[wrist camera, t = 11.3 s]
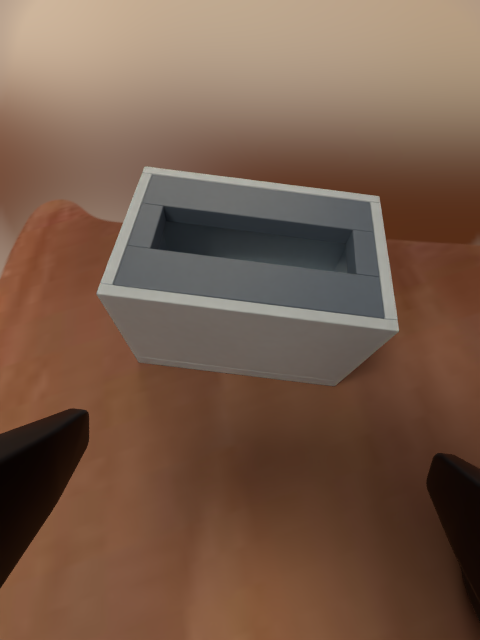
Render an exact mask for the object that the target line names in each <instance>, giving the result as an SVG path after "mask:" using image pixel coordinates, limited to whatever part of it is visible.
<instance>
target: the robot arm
mask: <svg viewBox="0 0 480 640" xmlns="http://www.w3.org/2000/svg"><path fill="white" fill-rule="evenodd" d="M88 442H89V414H88V412H87V411H86V410H82V409H74V408H73V409H68V410H65V411H63V412H60V413H57V414H54V415H52V416H49V417H46V418H43V419H41V420H38V421H35V422H32V423H30V424H27V425H24V426H21V427H19V428H16V429H13V430H10V431H8V432H5V433H2V434H0V588H1V587H2V585H3V584H4V582H5V581H6V579H7V578H8V576H9V575H10V573H11V572H12V570H13V569H14V567H15V566H16V564H17V563H18V561H19V560H20V558H21V557H22V555H23V554H24V552H25V551H26V549H27V548H28V546H29V545H30V543H31V542H32V540H33V539H34V537H35V536H36V534H37V533H38V531H39V530H40V528H41V527H42V525H43V524H44V522H45V521H46V519H47V518H48V516H49V515H50V513H51V512H52V510H53V508H54V507H55V505H56V504H57V502H58V500H59V498H60V497H61V495H62V493H63V491H64V489H65V487H66V486H67V484H68V482H69V480H70V478H71V476H72V474H73V472H74V471H75V469H76V467H77V465H78V463H79V461H80V459H81V457H82V456H83V454H84V452H85V450H86V448H87V445H88ZM426 484H427V490H428V492H429V495H430V497H431V500H432V502H433V504H434V507H435V509H436V511H437V514H438V516H439V519H440V521H441V523H442V526H443V528H444V531H445V533H446V535H447V538H448V540H449V542H450V545H451V547H452V549H453V551H454V554H455V556H456V558H457V560H458V562H459V564H460V566H461V568H462V570H463V571H464V573H465V575H466V577H467V579H468V581H469V583H470V585H471V587H472V589H473V591H474V593H475V594H476V596H477V598H478V600H479V602H480V469H479V468H477V467H475V466H474V465H472V464H470V463H468V462H466V461H464V460H463V459H461V458H459V457H457V456H455V455H452V454H444V453H437V454H436V455H435V456H434V457H433V460H432V463H431V467H430V470H429V473H428V476H427V482H426Z"/></svg>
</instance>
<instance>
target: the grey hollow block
mask: <svg viewBox="0 0 480 640" xmlns="http://www.w3.org/2000/svg"><path fill="white" fill-rule="evenodd" d="M97 296H98V297H99V299H100V300H101V302H102V304H103V305H104V307H105V309H106V310H107V312H108V313H109V315H110V317H111V318H112V320H113V321H114V323H115V325H116V326H117V328H118V330H119V331H120V333H121V334H122V336H123V338H124V339H125V341H126V342H127V344H128V346H129V347H130V349H131V350H132V352H133V354H134V355H135V357H136V359H137V360H138V362H140V363H148V364H156V365H164V366H172V367H181V368H189V369H197V370H205V371H213V372H221V373H230V374H238V375H246V376H254V377H262V378H270V379H278V380H287V381H295V382H303V383H311V384H319V385H327V386H336V385H337V384H338V383H339V382H340V381H342V380H343V379H344V378H345V377H346V376H347V375H349V374H350V373H351V372H352V371H353V370H354V369H356V368H357V367H358V366H359V365H360V364H361V363H363V362H364V361H365V360H366V359H367V358H368V357H370V356H371V355H372V354H373V353H374V352H375V351H377V350H378V349H379V348H380V347H381V346H383V345H384V344H385V343H386V342H387V341H388V340H390V339H391V338H392V337H393V336H394V335H395V334H397V333H398V332H399V327H398V321H397V320H398V319H397V312H396V305H395V299H394V292H393V285H392V278H391V272H390V265H389V258H388V252H387V245H386V238H385V232H384V225H383V218H382V211H381V205H380V199H379V196H372V195H364V194H357V193H349V192H341V191H333V190H326V189H318V188H309V187H301V186H294V185H286V184H279V183H271V182H263V181H255V180H246V179H240V178H232V177H224V176H215V175H208V174H199V173H193V172H184V171H177V170H169V169H161V168H153V167H144V170H143V173H142V175H141V178H140V180H139V183H138V185H137V188H136V191H135V193H134V196H133V199H132V201H131V204H130V206H129V209H128V212H127V215H126V217H125V220H124V222H123V225H122V227H121V230H120V233H119V235H118V238H117V240H116V243H115V246H114V248H113V251H112V254H111V256H110V259H109V261H108V264H107V267H106V269H105V272H104V275H103V277H102V280H101V284H100V285H99V288H98V290H97Z"/></svg>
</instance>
